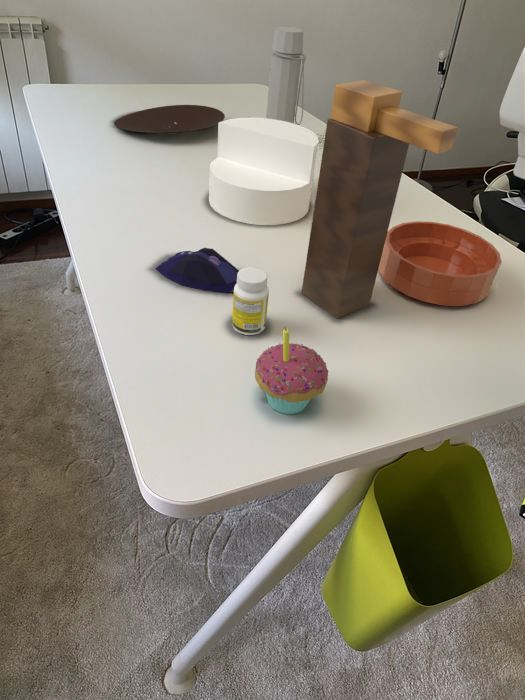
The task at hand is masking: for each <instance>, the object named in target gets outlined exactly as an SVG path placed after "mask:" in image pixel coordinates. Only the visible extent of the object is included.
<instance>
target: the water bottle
mask: <svg viewBox="0 0 525 700" xmlns="http://www.w3.org/2000/svg"><path fill="white" fill-rule="evenodd" d="M272 40H273V41H272V46H271V53H272V54H271V56H270V57H271V58H270V69H269V79H268V80H269V81H268V94H267V105H266V115H265V118H267V119H275V120H281V121H286V122H290V123H293V124H297V125H300V126H301V124H302V121H303V116H304V90H305V89H304V88H305V87H304V86H305V84H304V83H305V82H304V81H305V62H306V59H307V56H306V55H305V54H303V52H304V51H303V49H304V29H302V28H299V27H291V26H275V29H274V33H273V39H272ZM301 64H302V65H301ZM301 85H302V89H301ZM301 91H302V92H301ZM300 93H302V94H301V117H300V121H299V123H298V122H297V114H298V107H299V101H300Z"/></svg>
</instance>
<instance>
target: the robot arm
mask: <svg viewBox="0 0 525 700" xmlns="http://www.w3.org/2000/svg"><path fill="white" fill-rule="evenodd" d="M498 115H499V123H500V125H501V126H502V127H504V128H507V129H510V130H513V131H515V132H518V135H517V155H518V156H517V159H516V162H515V165H514V168H513V170H512V171H513V175H514V177H517V178H520V179H522V180H525V46H524V48H523V49H522V51H521V54H520V56H519V58H518V61H517V63H516V66H515V67H514V70H513V73H512V75H511V78H510V80H509V82H508V85H507V87H506V91H505V93H504V95H503V99H502V101H501V104H500V107H499V114H498Z"/></svg>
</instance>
